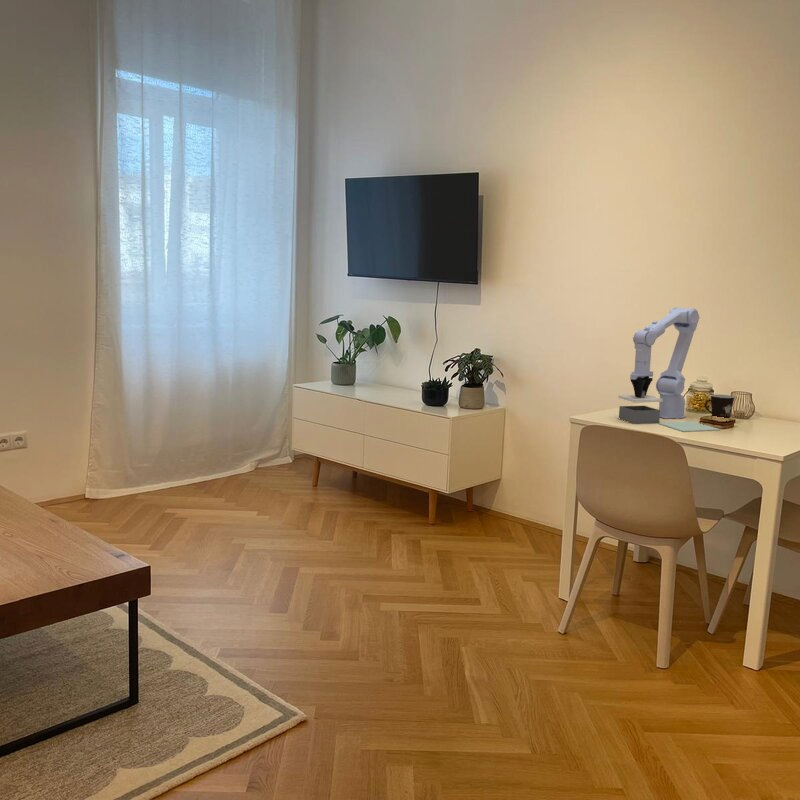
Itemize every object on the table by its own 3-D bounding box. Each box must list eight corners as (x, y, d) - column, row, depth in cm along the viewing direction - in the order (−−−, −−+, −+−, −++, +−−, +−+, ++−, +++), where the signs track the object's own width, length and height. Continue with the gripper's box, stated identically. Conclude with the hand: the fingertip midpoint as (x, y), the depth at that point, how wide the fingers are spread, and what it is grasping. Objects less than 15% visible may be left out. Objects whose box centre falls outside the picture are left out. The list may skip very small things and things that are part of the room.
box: (643, 417, 333) (644, 405, 332) (659, 423, 322) (660, 410, 321) (618, 418, 330) (619, 406, 329) (634, 423, 319) (634, 411, 318)
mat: (693, 422, 325) (694, 421, 325) (720, 430, 310) (720, 429, 310) (658, 423, 320) (658, 422, 320) (683, 431, 305) (683, 430, 305)
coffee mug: (728, 419, 333) (730, 394, 331) (735, 423, 324) (737, 398, 322) (698, 418, 334) (700, 393, 332) (704, 422, 325) (706, 397, 324)
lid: (645, 396, 332) (645, 388, 331) (662, 401, 321) (663, 392, 320) (618, 397, 329) (618, 388, 328) (635, 402, 317) (635, 393, 317)
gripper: (642, 359, 330) (640, 393, 332) (623, 361, 320) (621, 397, 322) (658, 361, 325) (656, 395, 327) (640, 363, 315) (638, 399, 317)
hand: (640, 396), depth 324 cm, fingers closed on lid, 3 cm apart
